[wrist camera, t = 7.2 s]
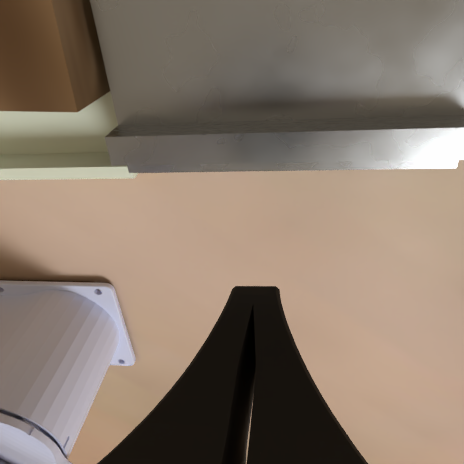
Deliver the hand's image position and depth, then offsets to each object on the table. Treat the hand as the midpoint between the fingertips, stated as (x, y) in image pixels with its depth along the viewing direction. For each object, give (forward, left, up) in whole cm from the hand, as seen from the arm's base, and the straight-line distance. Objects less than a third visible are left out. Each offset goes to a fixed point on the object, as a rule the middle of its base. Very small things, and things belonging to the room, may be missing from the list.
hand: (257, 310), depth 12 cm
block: (-9, +7, -9) cm, 14 cm away
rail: (+1, +7, -10) cm, 12 cm away
